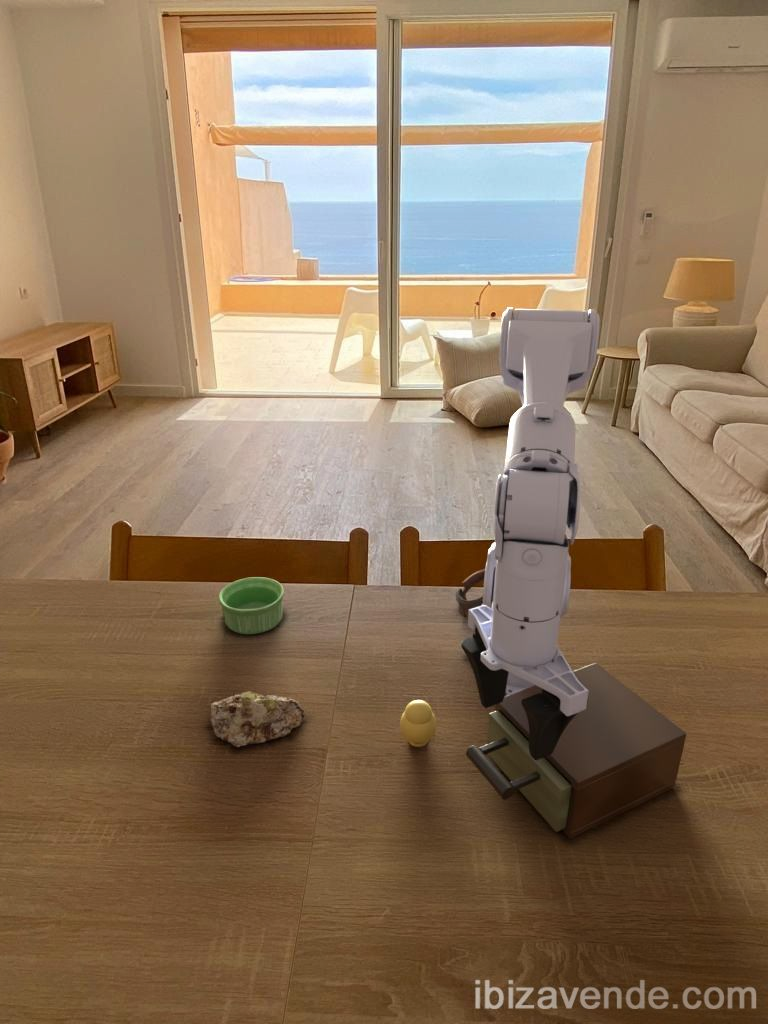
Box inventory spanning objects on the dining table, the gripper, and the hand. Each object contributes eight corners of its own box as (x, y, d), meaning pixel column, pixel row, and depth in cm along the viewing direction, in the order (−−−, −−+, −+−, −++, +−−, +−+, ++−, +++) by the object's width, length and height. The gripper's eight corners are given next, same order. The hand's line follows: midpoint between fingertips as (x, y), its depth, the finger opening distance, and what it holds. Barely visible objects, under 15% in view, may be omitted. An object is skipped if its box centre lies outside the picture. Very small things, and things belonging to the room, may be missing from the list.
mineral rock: (200, 738, 74) (212, 675, 80) (205, 759, 77) (217, 697, 83) (302, 737, 74) (306, 675, 80) (303, 758, 77) (307, 697, 83)
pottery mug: (526, 647, 93) (497, 603, 90) (467, 653, 99) (439, 611, 96) (547, 586, 101) (522, 543, 98) (491, 595, 107) (466, 555, 104)
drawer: (516, 851, 63) (521, 809, 60) (449, 767, 72) (451, 727, 70) (655, 784, 69) (663, 744, 67) (577, 715, 79) (583, 677, 76)
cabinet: (569, 839, 65) (577, 782, 62) (491, 751, 75) (495, 699, 72) (674, 787, 70) (687, 733, 67) (588, 712, 80) (596, 662, 78)
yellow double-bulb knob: (393, 734, 77) (393, 697, 75) (424, 722, 79) (425, 687, 77) (410, 757, 74) (411, 720, 72) (443, 745, 76) (444, 708, 74)
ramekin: (263, 595, 104) (260, 570, 103) (298, 620, 98) (296, 593, 96) (210, 618, 99) (206, 592, 97) (244, 645, 93) (241, 618, 91)
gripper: (442, 576, 63) (438, 695, 69) (544, 663, 52) (529, 797, 57) (505, 559, 66) (497, 674, 72) (615, 638, 55) (595, 768, 60)
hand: (515, 727), depth 65 cm, fingers open, 7 cm apart
